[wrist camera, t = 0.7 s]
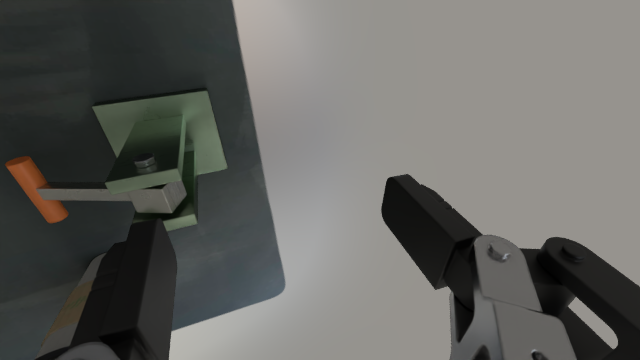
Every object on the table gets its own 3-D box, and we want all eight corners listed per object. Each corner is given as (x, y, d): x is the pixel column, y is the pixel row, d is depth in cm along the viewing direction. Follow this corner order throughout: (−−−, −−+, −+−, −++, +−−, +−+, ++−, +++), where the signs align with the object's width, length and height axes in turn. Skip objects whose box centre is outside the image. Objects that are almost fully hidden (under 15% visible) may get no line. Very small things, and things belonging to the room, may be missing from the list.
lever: (62, 208, 25) (37, 227, 23) (24, 153, 22) (-8, 168, 20) (193, 210, 24) (179, 230, 22) (171, 152, 21) (153, 168, 19)
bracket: (133, 183, 32) (104, 269, 21) (95, 102, 27) (32, 165, 16) (226, 163, 34) (239, 232, 24) (206, 87, 29) (212, 133, 19)
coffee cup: (133, 227, 34) (98, 349, 22) (174, 274, 40) (165, 391, 28) (49, 261, 33) (-36, 412, 21) (104, 304, 38) (63, 443, 26)
